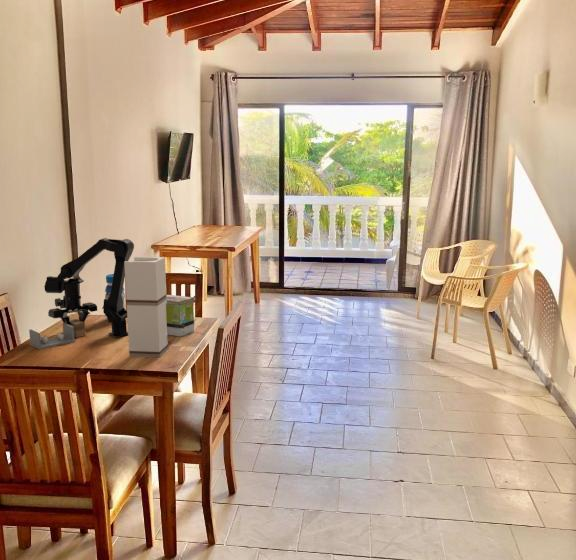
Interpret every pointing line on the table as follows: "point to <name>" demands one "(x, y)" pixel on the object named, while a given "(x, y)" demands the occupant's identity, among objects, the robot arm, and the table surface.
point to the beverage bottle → (108, 288)
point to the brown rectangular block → (78, 327)
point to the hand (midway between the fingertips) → (74, 330)
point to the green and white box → (179, 315)
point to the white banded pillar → (146, 306)
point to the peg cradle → (59, 340)
